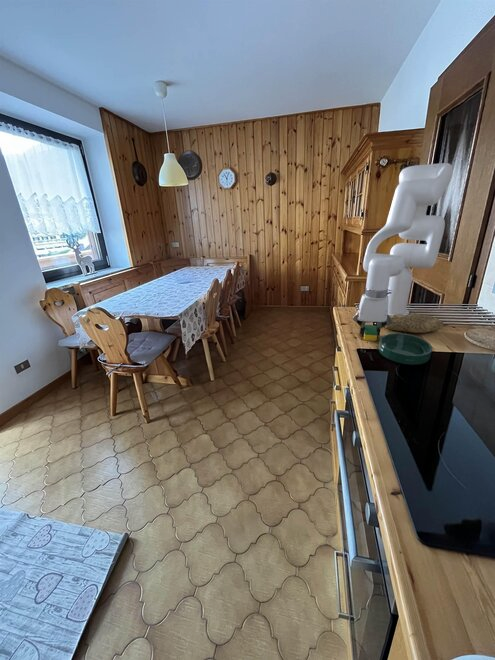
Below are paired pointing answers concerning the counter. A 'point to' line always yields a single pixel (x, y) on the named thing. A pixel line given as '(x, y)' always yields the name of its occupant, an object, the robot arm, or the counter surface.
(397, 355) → the bowl
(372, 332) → the small sponge
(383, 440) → the counter surface
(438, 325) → the sponge
